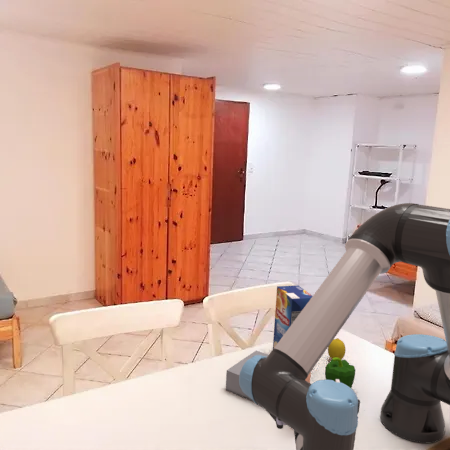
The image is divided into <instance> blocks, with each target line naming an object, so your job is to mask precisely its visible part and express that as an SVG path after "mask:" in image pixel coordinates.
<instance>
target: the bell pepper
mask: <svg viewBox="0 0 450 450" xmlns="http://www.w3.org/2000/svg"><path fill="white" fill-rule="evenodd" d="M324 375H325V376H324V377H325V380H333V381H336V379H339V381H340V382H341V383H343V384H345V385H347V386H349V387H350V388H351V389H352V387H353V385H354V381H355V377H356V368H355V366H354V365H353V364H350V363H349V362H348V361H347V360H346V359H339V358H336V357H335V358H332V359H331V360H329V362H328V363H327V364H326V366H325V369H324Z"/></svg>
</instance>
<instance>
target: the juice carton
mask: <svg viewBox="0 0 450 450" xmlns="http://www.w3.org/2000/svg"><path fill="white" fill-rule="evenodd" d="M312 296H313V295H312V294H311V293H310V292H308V291H307V290H306V289H304V288H303V287H302V286H300V285H298V284H297V285H282V286H281V285H279V286H276V296H275V297H276V300H275V310H274V312H275V313H274V314H275V315H274V325H273V326H274V328H273V340H272V350H273V349H274V348H275V346H276V345H277V343H278V342H279V341H280V339H281V338H282V337H283V335H284V334H285V333H286V331H287V330H288V329H289V327H290V326H291V325H292V323H293V322H294V321H295V319H296V318H297V317H298V315H299V314H300V313H301V311H302V310H303V309H304V307H305V306H306V305H307V303H308V302H309V301H310V299H311V298H312Z"/></svg>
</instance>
